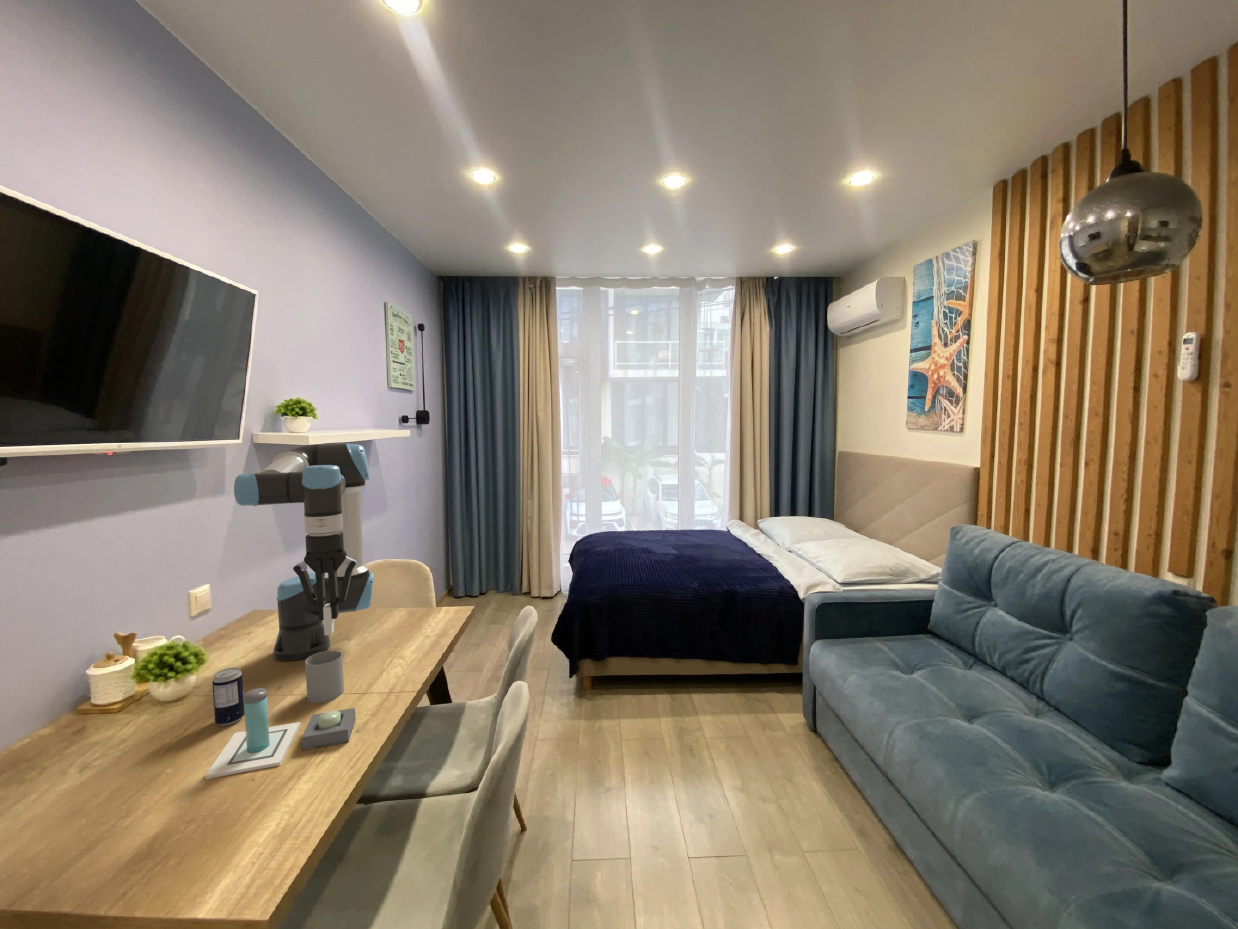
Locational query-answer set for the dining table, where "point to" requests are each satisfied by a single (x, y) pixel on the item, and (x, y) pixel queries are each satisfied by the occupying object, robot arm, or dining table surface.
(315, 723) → the button housing
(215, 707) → the beverage can
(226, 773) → the picture board
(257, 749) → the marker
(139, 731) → the dining table surface
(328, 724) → the button
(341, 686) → the cup
